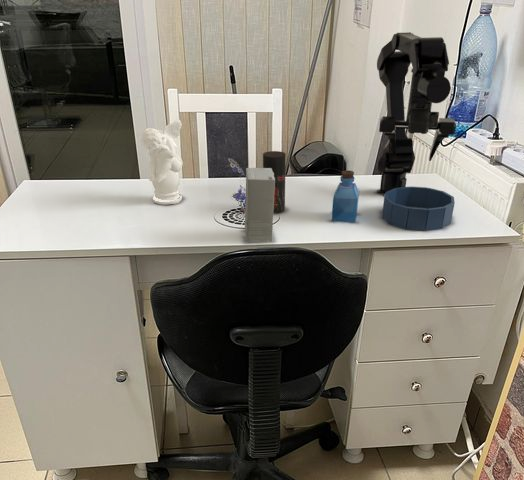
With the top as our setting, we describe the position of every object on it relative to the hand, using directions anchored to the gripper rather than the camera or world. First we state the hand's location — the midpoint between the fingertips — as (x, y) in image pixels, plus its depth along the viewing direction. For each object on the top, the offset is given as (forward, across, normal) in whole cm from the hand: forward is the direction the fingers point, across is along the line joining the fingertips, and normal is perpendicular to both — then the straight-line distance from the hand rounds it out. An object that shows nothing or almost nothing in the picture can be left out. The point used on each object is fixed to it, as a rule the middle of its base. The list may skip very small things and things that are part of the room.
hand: (411, 159), depth 143 cm
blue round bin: (+13, +3, -8) cm, 15 cm away
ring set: (+13, -47, 0) cm, 49 cm away
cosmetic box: (+13, -36, -27) cm, 47 cm away
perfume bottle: (+13, -16, -11) cm, 23 cm away
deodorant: (+13, -36, -8) cm, 39 cm away
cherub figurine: (+13, -68, -4) cm, 70 cm away
